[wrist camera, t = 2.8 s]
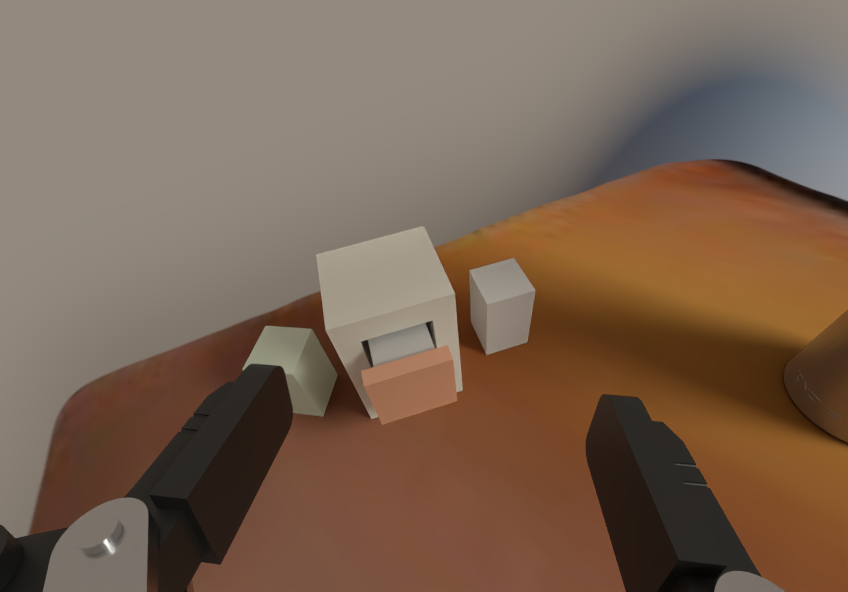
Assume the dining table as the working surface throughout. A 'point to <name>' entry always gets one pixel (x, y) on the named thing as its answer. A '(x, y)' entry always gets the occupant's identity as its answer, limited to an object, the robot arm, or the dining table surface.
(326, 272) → the cream box with panel
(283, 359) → the sage block
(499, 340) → the grey block
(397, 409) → the button
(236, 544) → the dining table surface
